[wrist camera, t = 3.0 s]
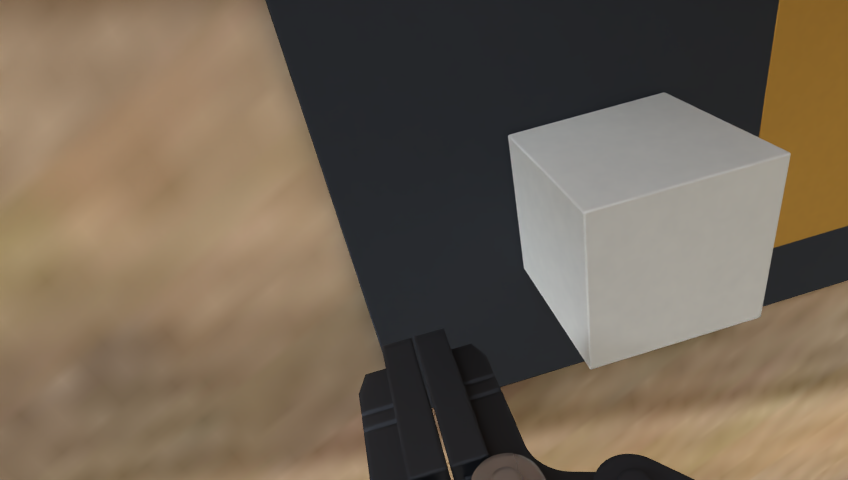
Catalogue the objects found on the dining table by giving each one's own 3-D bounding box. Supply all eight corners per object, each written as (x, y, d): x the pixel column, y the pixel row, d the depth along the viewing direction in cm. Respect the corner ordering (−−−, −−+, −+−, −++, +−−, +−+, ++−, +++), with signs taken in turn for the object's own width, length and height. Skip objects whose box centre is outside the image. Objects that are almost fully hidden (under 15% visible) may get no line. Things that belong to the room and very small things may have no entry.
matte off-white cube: (506, 133, 16) (583, 212, 12) (663, 90, 16) (792, 152, 12) (522, 267, 19) (590, 370, 15) (657, 228, 19) (761, 317, 15)
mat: (258, -25, 13) (257, -22, 13) (1246, -266, 15) (1275, -271, 15) (401, 407, 22) (404, 417, 21) (1019, 218, 24) (1033, 224, 23)
